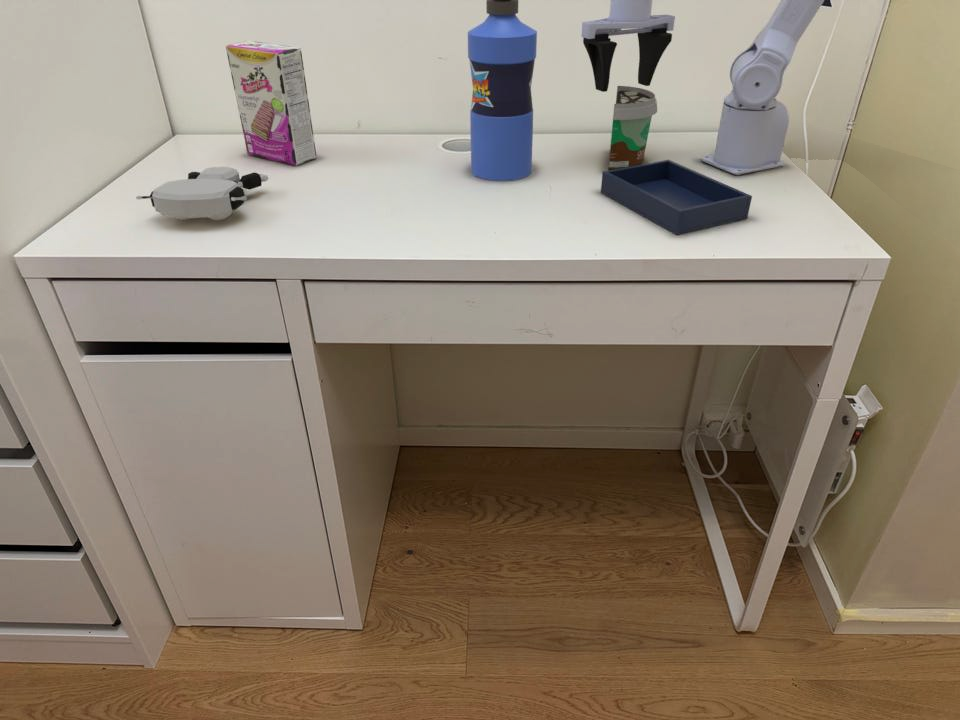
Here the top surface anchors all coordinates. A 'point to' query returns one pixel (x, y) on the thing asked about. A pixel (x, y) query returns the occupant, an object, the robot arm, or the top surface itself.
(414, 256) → the top surface
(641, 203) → the rectangular tray
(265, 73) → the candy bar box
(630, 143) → the food container
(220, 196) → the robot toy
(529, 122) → the water bottle
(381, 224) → the top surface
